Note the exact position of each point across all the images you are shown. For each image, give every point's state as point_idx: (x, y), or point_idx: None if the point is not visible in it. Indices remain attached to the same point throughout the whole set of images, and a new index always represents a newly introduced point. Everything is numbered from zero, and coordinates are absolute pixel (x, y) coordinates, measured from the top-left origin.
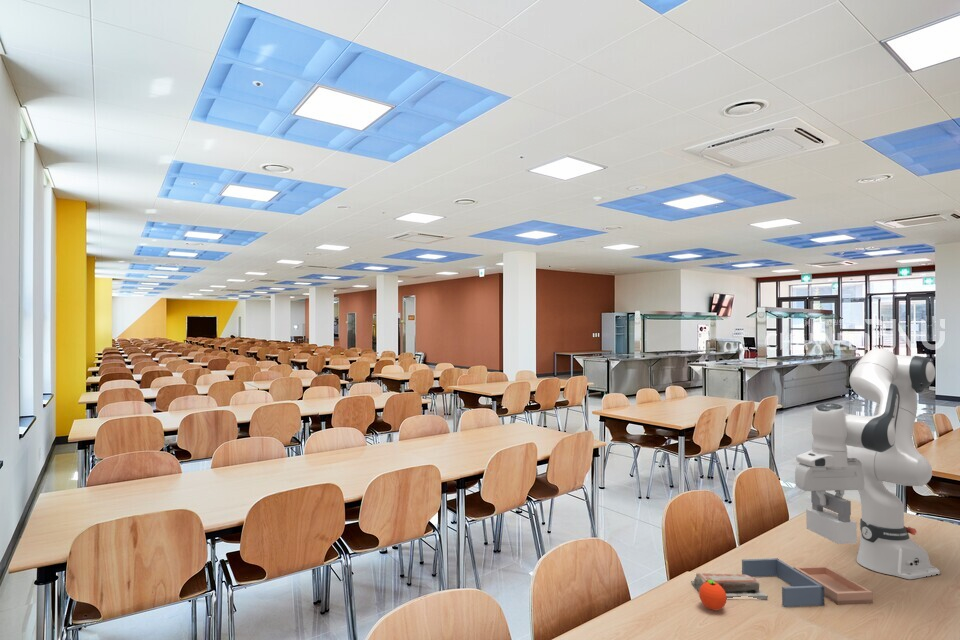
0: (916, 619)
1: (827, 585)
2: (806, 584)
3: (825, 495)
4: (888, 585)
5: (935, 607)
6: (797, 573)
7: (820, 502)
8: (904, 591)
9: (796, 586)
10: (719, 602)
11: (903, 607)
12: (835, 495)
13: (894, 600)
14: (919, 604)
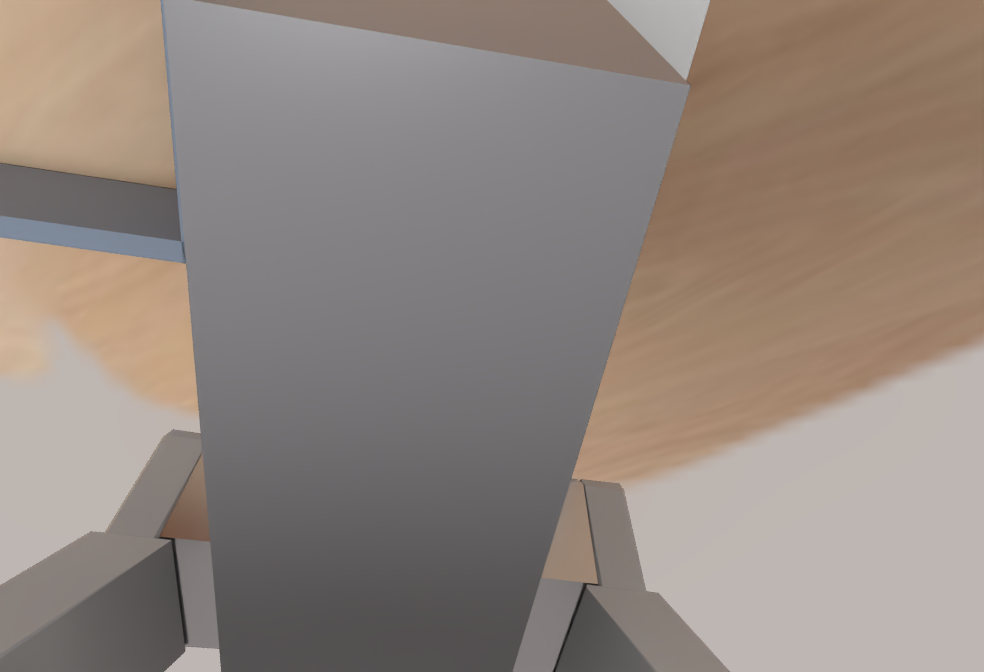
0: None
1: None
2: None
3: (227, 668)
4: (905, 122)
5: (816, 364)
6: (165, 35)
7: (156, 466)
8: (894, 208)
9: (10, 220)
10: None
11: (658, 330)
12: (632, 654)
13: (701, 270)
14: (778, 328)
